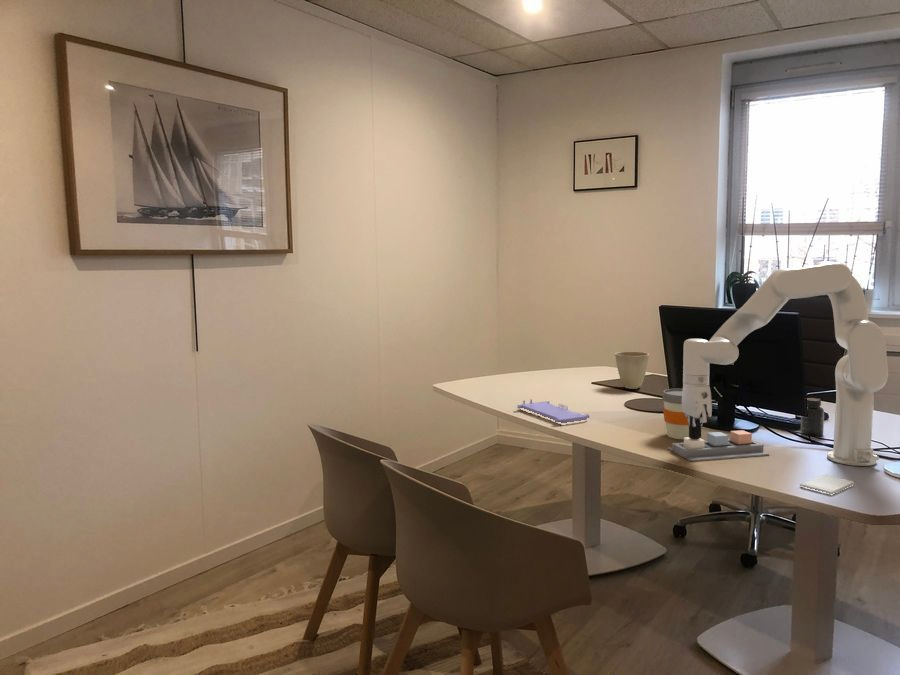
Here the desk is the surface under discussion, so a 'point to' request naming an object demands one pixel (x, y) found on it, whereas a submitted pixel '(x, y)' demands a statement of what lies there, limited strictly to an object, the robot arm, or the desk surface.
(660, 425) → the desk surface
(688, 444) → the ivory key
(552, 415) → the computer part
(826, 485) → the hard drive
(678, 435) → the reusable coffee cup
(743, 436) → the terracotta key
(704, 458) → the tray
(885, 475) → the desk surface
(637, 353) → the plant pot
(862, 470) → the desk surface
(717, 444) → the slate key
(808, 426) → the supplement bottle
